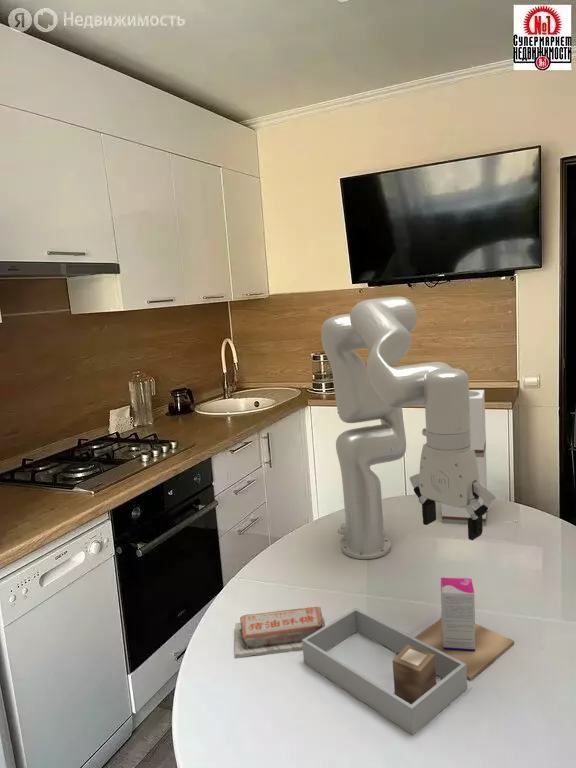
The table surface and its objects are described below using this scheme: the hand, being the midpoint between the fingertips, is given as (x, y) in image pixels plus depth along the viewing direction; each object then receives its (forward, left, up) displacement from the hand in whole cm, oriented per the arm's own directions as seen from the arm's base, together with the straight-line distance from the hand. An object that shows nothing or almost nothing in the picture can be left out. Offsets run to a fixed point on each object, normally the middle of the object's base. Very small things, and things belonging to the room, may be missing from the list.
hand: (451, 529), depth 108 cm
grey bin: (-4, -17, -22) cm, 28 cm away
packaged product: (-26, -22, -23) cm, 41 cm away
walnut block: (+4, -17, -22) cm, 28 cm away
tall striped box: (-31, +49, -23) cm, 62 cm away
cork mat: (+1, -1, -22) cm, 22 cm away
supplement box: (+1, -1, -22) cm, 22 cm away
